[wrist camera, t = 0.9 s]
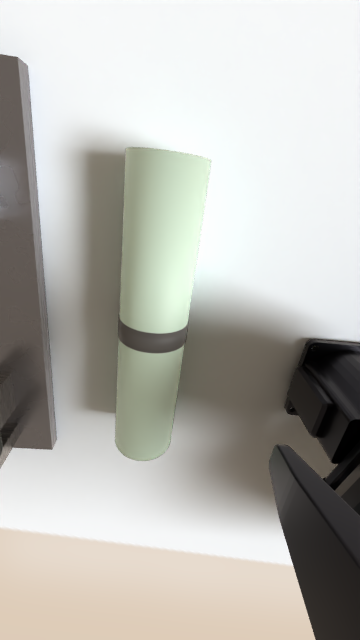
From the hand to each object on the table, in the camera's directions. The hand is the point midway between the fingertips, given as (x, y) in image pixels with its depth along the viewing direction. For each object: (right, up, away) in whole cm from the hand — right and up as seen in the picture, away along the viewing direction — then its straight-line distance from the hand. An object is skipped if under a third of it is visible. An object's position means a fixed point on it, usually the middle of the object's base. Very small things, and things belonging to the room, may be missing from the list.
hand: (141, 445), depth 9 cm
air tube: (0, +4, +8) cm, 9 cm away
